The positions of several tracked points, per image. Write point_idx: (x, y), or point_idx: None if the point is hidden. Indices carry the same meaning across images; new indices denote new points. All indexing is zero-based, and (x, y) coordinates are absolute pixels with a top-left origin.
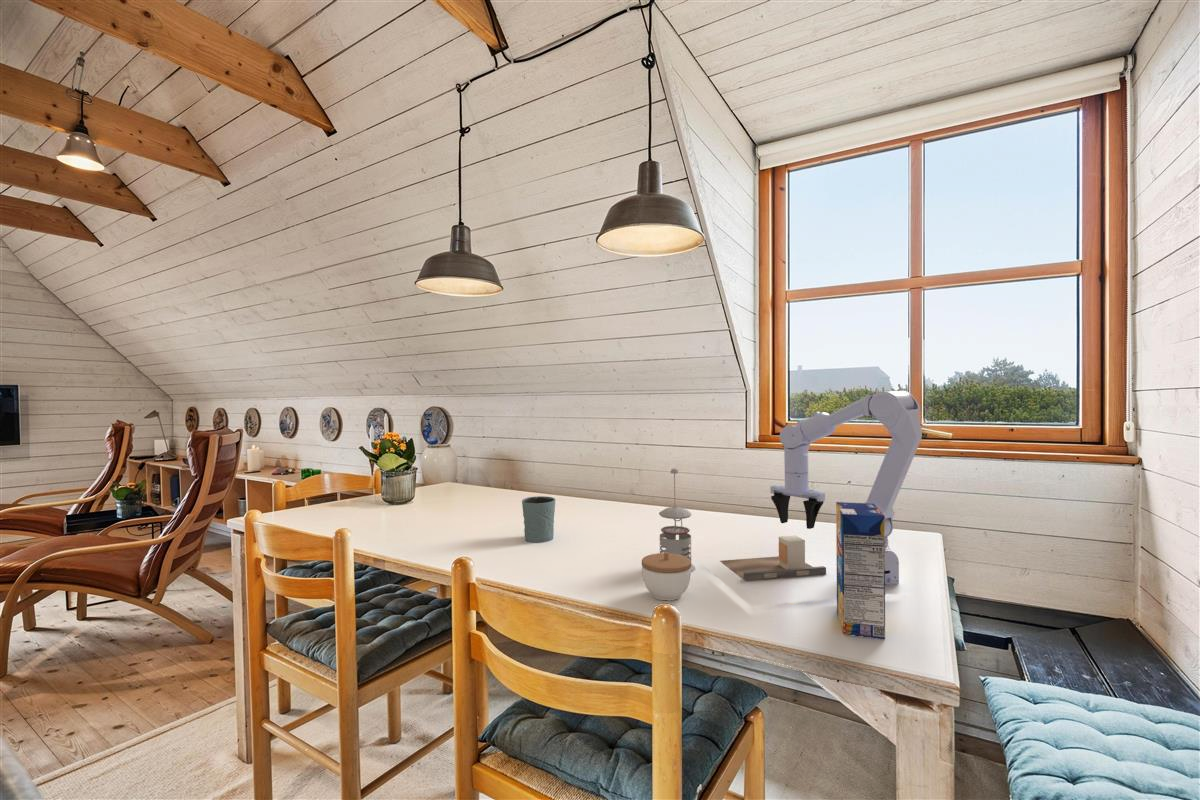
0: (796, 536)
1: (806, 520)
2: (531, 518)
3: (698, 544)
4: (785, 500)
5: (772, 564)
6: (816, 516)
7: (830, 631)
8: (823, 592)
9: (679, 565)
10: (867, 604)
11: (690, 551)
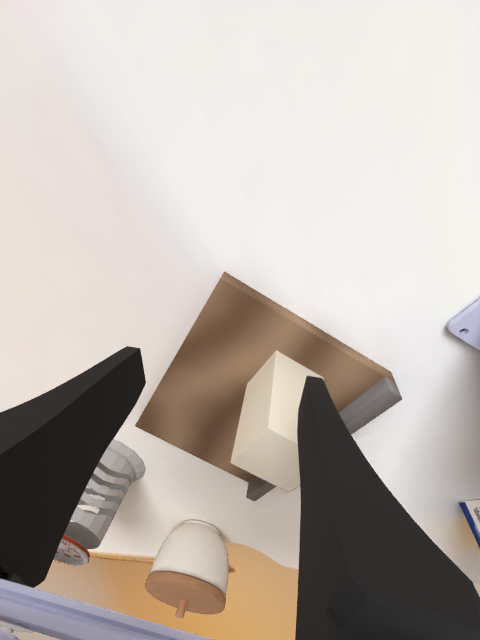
0: (280, 437)
1: (300, 461)
2: None
3: None
4: (31, 491)
5: (232, 389)
6: (350, 438)
7: (459, 547)
8: (408, 442)
9: (217, 609)
10: None
11: (111, 494)
